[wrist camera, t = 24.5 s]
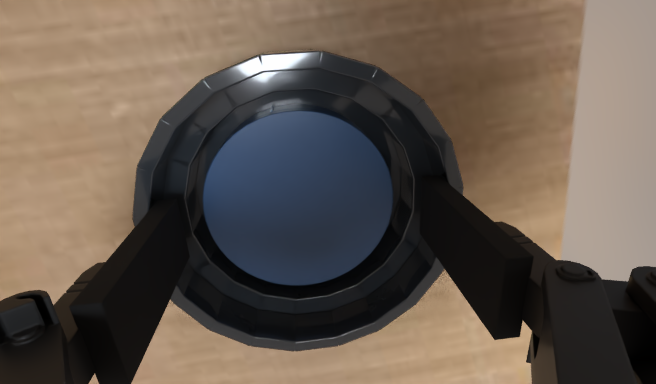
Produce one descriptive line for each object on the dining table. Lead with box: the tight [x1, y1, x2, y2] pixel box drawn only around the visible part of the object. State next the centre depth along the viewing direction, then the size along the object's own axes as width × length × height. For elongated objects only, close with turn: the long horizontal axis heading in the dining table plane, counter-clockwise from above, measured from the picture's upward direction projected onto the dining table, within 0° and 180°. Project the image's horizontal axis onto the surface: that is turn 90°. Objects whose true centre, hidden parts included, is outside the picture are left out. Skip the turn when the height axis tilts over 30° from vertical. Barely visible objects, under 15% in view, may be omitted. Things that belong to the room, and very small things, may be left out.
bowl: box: [133, 49, 463, 351], centre depth 17 cm, size 13×13×4 cm
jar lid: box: [203, 104, 393, 285], centre depth 18 cm, size 9×9×2 cm
